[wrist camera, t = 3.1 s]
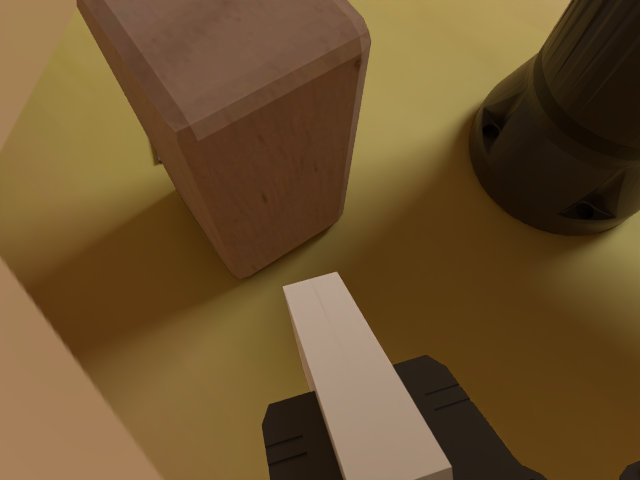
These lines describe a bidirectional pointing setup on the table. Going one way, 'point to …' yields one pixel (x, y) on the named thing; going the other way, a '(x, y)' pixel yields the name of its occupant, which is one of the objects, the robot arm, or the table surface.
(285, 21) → the wooden block
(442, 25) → the table surface
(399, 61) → the table surface
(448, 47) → the table surface
